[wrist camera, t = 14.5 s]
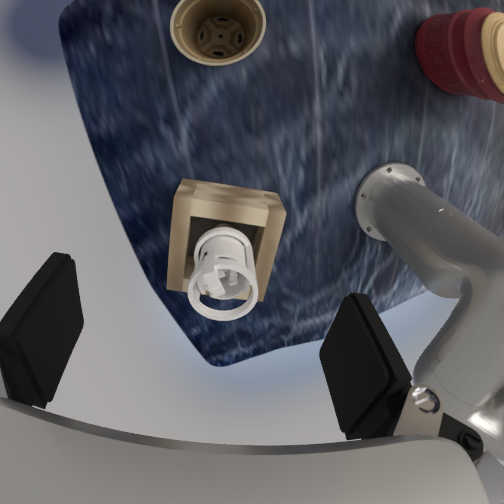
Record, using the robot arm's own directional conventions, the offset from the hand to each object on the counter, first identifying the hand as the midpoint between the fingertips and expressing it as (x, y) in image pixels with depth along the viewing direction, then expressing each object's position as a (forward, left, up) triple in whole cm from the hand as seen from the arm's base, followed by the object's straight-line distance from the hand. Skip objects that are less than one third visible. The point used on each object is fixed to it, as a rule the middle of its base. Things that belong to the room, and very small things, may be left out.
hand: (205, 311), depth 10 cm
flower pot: (+3, -14, -32) cm, 36 cm away
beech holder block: (-2, +12, -32) cm, 35 cm away
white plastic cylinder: (-2, +12, -31) cm, 33 cm away
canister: (-29, -23, -32) cm, 49 cm away
